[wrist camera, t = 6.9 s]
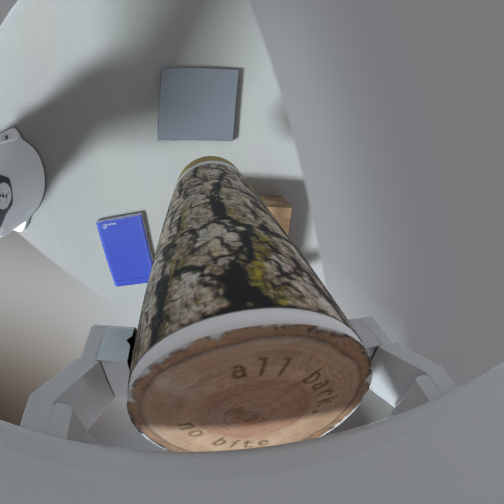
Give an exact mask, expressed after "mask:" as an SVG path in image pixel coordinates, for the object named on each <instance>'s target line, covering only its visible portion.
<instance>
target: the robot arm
mask: <svg viewBox="0 0 504 504" xmlns="http://www.w3.org/2000/svg"><path fill="white" fill-rule="evenodd" d="M7 136H8V139H7ZM44 189H45V174H44V168H43V165H42V162H41V159H40V157H39V155H38V153H37V152H36V151H35V149H34V148H33V147H32V146H31V145H30V144H28V143H27V142H25V141H24V140H23V139H22V138H21V136H20V134H19V132H18V131H17V129H16V128H11V129H9V130H7V131H5V132H3V133H1V134H0V237H3V236H5V235H6V234H7V233H9V232H11V231H12V230H15V231H20V232H21V231H23V230H25V229H26V228H27V225H28V222H29V219H30V217H31V215H32V214H33V213H34V212H35V211H36V210H37V208H38V207H39V205H40V203H41V201H42V198H43V195H44ZM348 321H349V322H350V324H351V325H352V327H353V328H354V330H355V331H356V333H357V334H358V336H359V337H360V339H361V341H362V343H363V345H364V347H365V349H366V350H367V352H368V353H369V355H370V358H371V360H372V366H373V375H372V381H371V384H370V387H369V388H370V389H371V390H372V391H374V392H375V393H376V394H378V395H379V396H380V397H381V398H383V399H384V400H386V401H387V402H388V403H389V404H391V405H392V406H393V407H395V408H394V409H393V411H392V412H391V413H390V414H389V416H388V418H386V419H383V420H379V421H376V422H374V423H370V424H367V425H364V426H360V427H357V428H353V429H350V430H346V431H342V432H338V433H334V434H330V435H326V436H322V437H317V438H312V439H307V440H302V441H297V442H291V443H286V444H279V445H273V446H265V447H257V448H248V449H238V450H224V451H202V452H169V451H168V452H167V451H147V450H135V449H124V448H115V447H108V446H101V445H97V444H96V442H95V441H94V440H93V438H92V437H91V435H90V434H89V433H88V430H89V428H90V427H91V426H92V425H93V423H94V422H95V421H96V420H97V418H98V417H99V416H100V415H101V414H102V413H103V411H104V410H105V409H106V407H108V405H109V404H110V403H111V402H112V400H113V399H114V397H128V380H129V374H130V367H131V362H132V356H133V350H134V345H135V339H136V334H137V329H136V328H135V327H120V326H104V325H93V326H92V327H91V329H90V332H89V335H88V338H87V341H86V343H85V346H84V349H83V352H82V355H81V358H80V359H75V360H74V361H72V362H71V363H70V364H69V365H67V366H66V367H65V368H64V369H63V370H61V371H60V372H58V373H57V374H56V375H55V376H53V377H52V378H51V379H50V380H48V381H47V382H46V383H45V384H43V385H42V386H41V387H40V388H38V389H37V390H36V391H35V392H34V393H32V394H31V395H30V396H29V399H28V402H27V405H26V408H25V411H24V414H23V417H22V421H21V424H20V427H19V426H16V425H13V424H10V423H8V422H5V421H2V420H0V504H504V362H502V363H501V364H499V365H498V366H496V367H494V368H493V369H491V370H490V371H488V372H486V373H484V374H483V375H481V376H479V377H477V378H476V379H474V380H472V381H470V382H468V383H467V384H464V385H463V386H461V387H459V388H457V386H456V385H455V384H454V382H453V381H452V380H451V378H450V377H449V376H448V374H447V373H446V372H445V370H444V369H443V368H442V367H441V366H439V365H437V364H435V363H433V362H431V361H429V360H427V359H425V358H423V357H422V356H420V355H418V354H416V353H414V352H412V351H410V350H408V349H406V348H404V347H402V346H400V345H399V344H397V343H392V342H391V341H390V339H389V338H388V337H387V335H386V334H385V333H384V331H383V330H382V329H381V327H380V326H379V325H378V323H377V322H376V321H375V320H374V318H372V317H364V318H359V319H350V320H348Z"/></svg>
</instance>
